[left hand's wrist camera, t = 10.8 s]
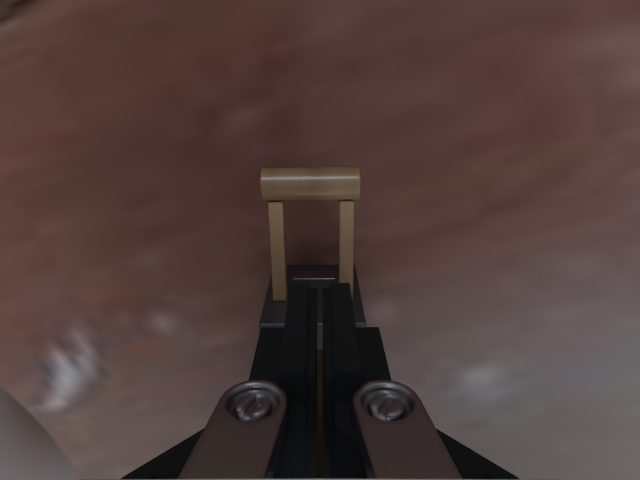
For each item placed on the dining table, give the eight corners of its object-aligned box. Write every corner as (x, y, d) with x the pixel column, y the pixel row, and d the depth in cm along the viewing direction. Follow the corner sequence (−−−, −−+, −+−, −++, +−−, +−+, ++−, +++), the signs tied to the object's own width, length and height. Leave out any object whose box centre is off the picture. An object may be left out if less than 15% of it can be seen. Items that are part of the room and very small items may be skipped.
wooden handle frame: (267, 153, 20) (248, 180, 15) (356, 152, 20) (369, 178, 15) (285, 481, 27) (276, 579, 22) (351, 480, 27) (359, 578, 22)
